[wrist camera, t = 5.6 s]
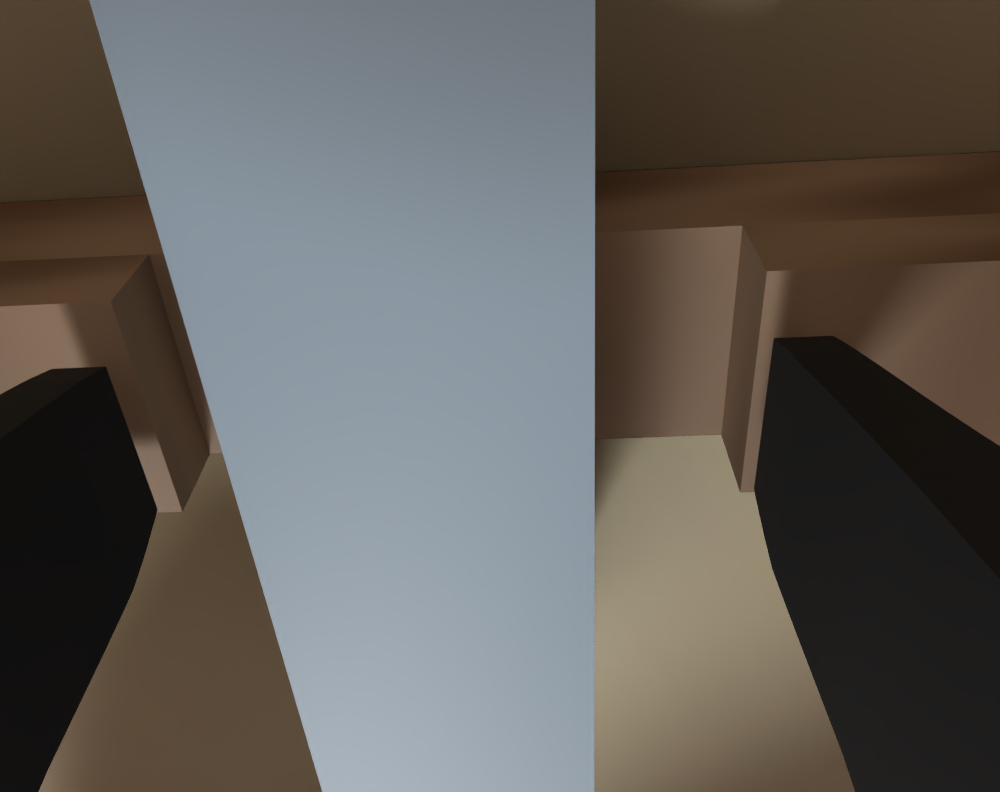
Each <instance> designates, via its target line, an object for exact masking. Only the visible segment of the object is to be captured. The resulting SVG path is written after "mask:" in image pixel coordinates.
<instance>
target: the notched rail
mask: <svg viewBox="0 0 1000 792" xmlns="http://www.w3.org/2000/svg"><path fill="white" fill-rule="evenodd" d="M812 336H834V337H836V338H838V339H839V340H841V341H843V342H845V343H846V344H848V345H850V346H851V347H853V348H854V349H856V350H857V351H859V352H860V353H862V354H863V355H865V356H866V357H868V358H869V359H871V360H872V361H874V362H875V363H877V364H878V365H880V366H881V367H883V368H884V369H886V370H887V371H888V372H890V373H891V374H893V375H894V376H896V377H897V378H899V379H900V380H902V381H903V382H904V383H906V384H907V385H909V386H910V387H912V388H913V389H915V390H916V391H918V392H919V393H920V394H922V395H923V396H925V397H926V398H928V399H929V400H931V401H932V402H934V403H935V404H937V405H938V406H940V407H941V408H943V409H944V410H945V411H947V412H948V413H950V414H951V415H953V416H954V417H956V418H957V419H959V420H961V421H962V422H964V423H965V424H967V425H968V426H970V427H971V428H973V429H974V430H976V431H977V432H979V433H980V434H982V435H983V436H985V437H986V438H988V439H990V440H991V441H993V442H994V443H996V444H997V445H999V446H1000V152H984V153H965V154H945V155H926V156H906V157H887V158H867V159H848V160H828V161H809V162H789V163H770V164H750V165H731V166H711V167H692V168H672V169H653V170H633V171H614V172H595V439H615V438H642V437H668V436H695V435H722V438H723V441H724V444H725V447H726V450H727V453H728V456H729V459H730V462H731V465H732V469H733V472H734V475H735V478H736V481H737V484H738V487H739V490H740V492H755V491H754V484H755V477H756V469H757V461H758V454H759V446H760V439H761V431H762V424H763V416H764V408H765V401H766V393H767V386H768V378H769V371H770V363H771V355H772V348H773V340H774V338H789V337H812ZM83 367H106V368H107V371H108V373H109V376H110V379H111V382H112V385H113V387H114V390H115V393H116V396H117V398H118V401H119V404H120V407H121V409H122V412H123V415H124V418H125V420H126V423H127V426H128V429H129V432H130V434H131V437H132V440H133V443H134V445H135V448H136V451H137V454H138V456H139V459H140V462H141V465H142V467H143V470H144V473H145V476H146V479H147V481H148V484H149V487H150V490H151V492H152V495H153V498H154V501H155V503H156V506H157V509H158V510H157V513H160V512H183V509H184V507H185V505H186V503H187V501H188V499H189V497H190V495H191V492H192V490H193V488H194V486H195V484H196V482H197V480H198V478H199V475H200V473H201V471H202V469H203V467H204V465H205V463H206V461H207V458H208V456H209V454H218V453H222V450H221V446H220V443H219V440H218V436H217V433H216V429H215V426H214V423H213V419H212V416H211V412H210V409H209V406H208V402H207V399H206V395H205V392H204V389H203V385H202V382H201V378H200V375H199V372H198V368H197V365H196V361H195V358H194V355H193V351H192V348H191V344H190V341H189V338H188V334H187V331H186V327H185V324H184V321H183V317H182V314H181V310H180V307H179V304H178V300H177V297H176V293H175V290H174V287H173V283H172V280H171V277H170V273H169V270H168V266H167V263H166V260H165V256H164V253H163V249H162V246H161V243H160V239H159V236H158V232H157V229H156V226H155V222H154V219H153V215H152V212H151V209H150V205H149V202H148V198H147V195H146V196H126V197H107V198H87V199H68V200H48V201H29V202H9V203H0V394H2V393H4V392H5V391H7V390H9V389H11V388H13V387H15V386H17V385H19V384H20V383H22V382H24V381H26V380H28V379H30V378H32V377H35V376H37V375H39V374H41V373H44V372H46V371H48V370H50V369H59V368H83Z"/></svg>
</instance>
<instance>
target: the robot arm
mask: <svg viewBox="0 0 1000 792" xmlns="http://www.w3.org/2000/svg"><path fill="white" fill-rule="evenodd" d="M754 491H755V496H756V500H757V505H758V509H759V514H760V519H761V523H762V528H763V532H764V536H765V540H766V545H767V549H768V553H769V557H770V561H771V565H772V569H773V572H774V574H775V577H776V580H777V583H778V585H779V588H780V591H781V593H782V596H783V599H784V601H785V604H786V607H787V609H788V612H789V615H790V617H791V620H792V623H793V625H794V628H795V631H796V633H797V636H798V639H799V641H800V644H801V646H802V649H803V652H804V654H805V657H806V659H807V662H808V665H809V667H810V670H811V672H812V675H813V678H814V680H815V683H816V685H817V688H818V691H819V693H820V696H821V699H822V701H823V704H824V706H825V709H826V712H827V714H828V717H829V719H830V722H831V725H832V727H833V730H834V732H835V735H836V738H837V740H838V743H839V745H840V748H841V751H842V753H843V756H844V759H845V762H846V765H847V768H848V771H849V774H850V777H851V780H852V783H853V786H854V789H855V792H1000V446H999V445H997V444H996V443H994V442H993V441H991V440H990V439H988V438H986V437H985V436H983V435H982V434H980V433H979V432H977V431H976V430H974V429H973V428H971V427H970V426H968V425H967V424H965V423H964V422H962V421H961V420H959V419H957V418H956V417H954V416H953V415H951V414H950V413H948V412H947V411H945V410H944V409H943V408H941V407H940V406H938V405H937V404H935V403H934V402H932V401H931V400H929V399H928V398H926V397H925V396H923V395H922V394H920V393H919V392H918V391H916V390H915V389H913V388H912V387H910V386H909V385H907V384H906V383H904V382H903V381H902V380H900V379H899V378H897V377H896V376H894V375H893V374H891V373H890V372H888V371H887V370H886V369H884V368H883V367H881V366H880V365H878V364H877V363H875V362H874V361H872V360H871V359H869V358H868V357H866V356H865V355H863V354H862V353H860V352H859V351H857V350H856V349H854V348H853V347H851V346H850V345H848V344H846V343H845V342H843V341H841V340H839V339H838V338H836V337H834V336H812V337H789V338H774V340H773V348H772V355H771V363H770V371H769V378H768V386H767V393H766V401H765V408H764V416H763V424H762V431H761V439H760V446H759V454H758V461H757V469H756V477H755V484H754ZM157 510H158V509H157V506H156V503H155V501H154V498H153V495H152V492H151V490H150V487H149V484H148V481H147V479H146V476H145V473H144V470H143V467H142V465H141V462H140V459H139V456H138V454H137V451H136V448H135V445H134V443H133V440H132V437H131V434H130V432H129V429H128V426H127V423H126V420H125V418H124V415H123V412H122V409H121V407H120V404H119V401H118V398H117V396H116V393H115V390H114V387H113V385H112V382H111V379H110V376H109V373H108V371H107V368H106V367H83V368H59V369H50V370H48V371H46V372H44V373H41V374H39V375H37V376H35V377H32V378H30V379H28V380H26V381H24V382H22V383H20V384H19V385H17V386H15V387H13V388H11V389H9V390H7V391H5V392H4V393H2V394H0V792H38V791H39V789H40V787H41V784H42V782H43V780H44V777H45V775H46V773H47V770H48V768H49V766H50V764H51V762H52V760H53V758H54V756H55V754H56V752H57V750H58V747H59V745H60V743H61V741H62V739H63V737H64V735H65V733H66V731H67V729H68V727H69V725H70V722H71V720H72V718H73V716H74V714H75V712H76V710H77V708H78V706H79V704H80V702H81V700H82V697H83V695H84V693H85V691H86V689H87V687H88V685H89V683H90V681H91V679H92V677H93V675H94V673H95V670H96V668H97V666H98V664H99V662H100V660H101V658H102V656H103V654H104V652H105V650H106V647H107V645H108V643H109V641H110V639H111V637H112V635H113V632H114V630H115V628H116V626H117V624H118V622H119V620H120V617H121V615H122V613H123V611H124V609H125V607H126V604H127V602H128V600H129V598H130V596H131V593H132V591H133V589H134V586H135V583H136V580H137V577H138V574H139V571H140V568H141V565H142V562H143V559H144V555H145V552H146V549H147V545H148V542H149V538H150V535H151V531H152V528H153V524H154V521H155V517H156V513H157Z"/></svg>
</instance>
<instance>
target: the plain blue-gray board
mask: <svg viewBox="0 0 1000 792" xmlns="http://www.w3.org/2000/svg"><path fill="white" fill-rule="evenodd" d="M89 1H90V5H91V8H92V12H93V15H94V18H95V22H96V25H97V28H98V32H99V35H100V39H101V42H102V45H103V49H104V52H105V56H106V59H107V62H108V66H109V69H110V73H111V76H112V79H113V83H114V86H115V90H116V93H117V96H118V100H119V103H120V107H121V110H122V113H123V117H124V120H125V124H126V127H127V130H128V134H129V137H130V141H131V144H132V147H133V151H134V154H135V158H136V161H137V164H138V168H139V171H140V175H141V178H142V181H143V185H144V188H145V192H146V195H147V198H148V202H149V205H150V209H151V212H152V215H153V219H154V222H155V226H156V229H157V232H158V236H159V239H160V243H161V246H162V249H163V253H164V256H165V260H166V263H167V266H168V270H169V273H170V277H171V280H172V283H173V287H174V290H175V293H176V297H177V300H178V304H179V307H180V310H181V314H182V317H183V321H184V324H185V327H186V331H187V334H188V338H189V341H190V344H191V348H192V351H193V355H194V358H195V361H196V365H197V368H198V372H199V375H200V378H201V382H202V385H203V389H204V392H205V395H206V399H207V402H208V406H209V409H210V412H211V416H212V419H213V423H214V426H215V429H216V433H217V436H218V440H219V443H220V446H221V450H222V453H223V457H224V460H225V463H226V467H227V470H228V474H229V477H230V480H231V484H232V487H233V491H234V494H235V497H236V501H237V504H238V508H239V511H240V514H241V518H242V521H243V525H244V528H245V531H246V535H247V538H248V541H249V545H250V548H251V552H252V555H253V558H254V562H255V565H256V569H257V572H258V575H259V579H260V582H261V586H262V589H263V592H264V596H265V599H266V603H267V606H268V609H269V613H270V616H271V620H272V623H273V626H274V630H275V633H276V637H277V640H278V643H279V647H280V650H281V654H282V657H283V660H284V664H285V667H286V671H287V674H288V677H289V681H290V684H291V688H292V691H293V694H294V698H295V701H296V705H297V708H298V711H299V715H300V718H301V722H302V725H303V728H304V732H305V735H306V739H307V742H308V745H309V749H310V752H311V756H312V759H313V762H314V766H315V769H316V773H317V776H318V779H319V783H320V786H321V789H322V792H594V589H595V0H89Z"/></svg>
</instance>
